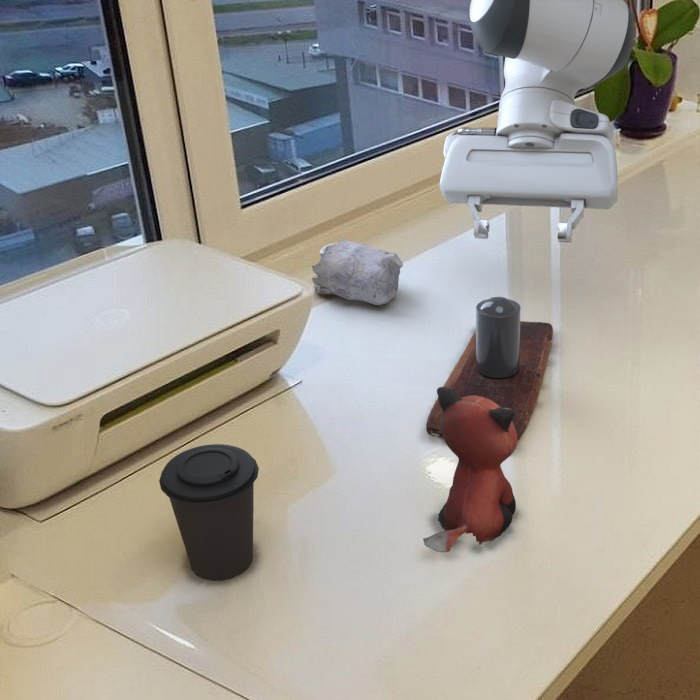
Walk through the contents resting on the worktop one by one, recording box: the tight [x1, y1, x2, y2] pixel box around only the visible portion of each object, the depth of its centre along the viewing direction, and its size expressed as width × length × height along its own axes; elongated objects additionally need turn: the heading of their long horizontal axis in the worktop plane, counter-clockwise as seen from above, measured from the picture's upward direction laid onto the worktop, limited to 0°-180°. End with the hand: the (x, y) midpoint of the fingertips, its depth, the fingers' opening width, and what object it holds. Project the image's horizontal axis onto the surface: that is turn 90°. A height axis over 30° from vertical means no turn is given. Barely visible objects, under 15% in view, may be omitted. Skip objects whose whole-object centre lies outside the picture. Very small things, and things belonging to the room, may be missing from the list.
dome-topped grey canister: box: [475, 296, 522, 378], centre depth 112 cm, size 5×5×8 cm
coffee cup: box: [158, 443, 260, 581], centre depth 89 cm, size 8×8×10 cm
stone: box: [311, 238, 404, 306], centre depth 134 cm, size 8×12×7 cm, turn 60°
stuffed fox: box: [422, 386, 518, 553], centre depth 90 cm, size 8×11×12 cm
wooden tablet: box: [425, 320, 554, 443], centre depth 114 cm, size 26×2×10 cm
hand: (522, 238), depth 121 cm, fingers open, 8 cm apart
